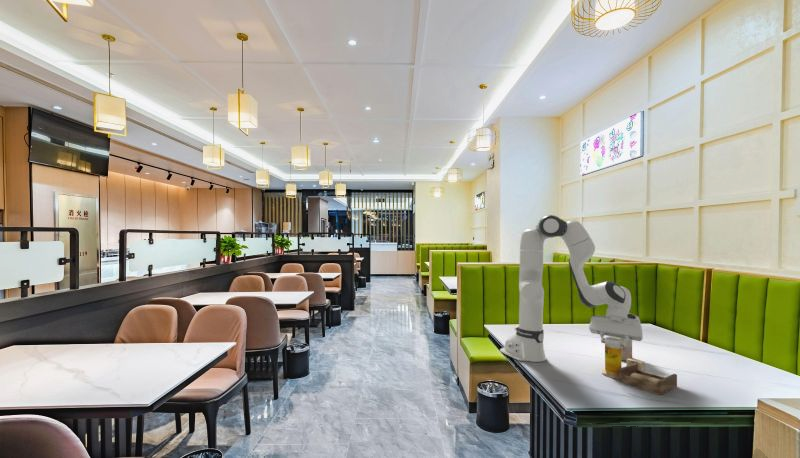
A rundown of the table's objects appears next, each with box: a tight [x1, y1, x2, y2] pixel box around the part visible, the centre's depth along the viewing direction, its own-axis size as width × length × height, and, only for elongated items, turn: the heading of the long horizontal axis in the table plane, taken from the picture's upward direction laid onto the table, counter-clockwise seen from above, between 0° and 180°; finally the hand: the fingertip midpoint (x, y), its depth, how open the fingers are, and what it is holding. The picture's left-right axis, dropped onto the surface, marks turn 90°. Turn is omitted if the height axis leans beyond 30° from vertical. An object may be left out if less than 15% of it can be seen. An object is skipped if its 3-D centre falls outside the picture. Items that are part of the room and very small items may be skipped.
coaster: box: [601, 369, 619, 380], centre depth 149 cm, size 8×8×1 cm
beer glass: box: [604, 336, 622, 376], centre depth 149 cm, size 6×6×15 cm
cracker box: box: [608, 336, 633, 362], centre depth 174 cm, size 14×6×21 cm, turn 168°
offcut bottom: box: [631, 373, 660, 385], centre depth 137 cm, size 9×4×4 cm, turn 40°
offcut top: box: [625, 358, 645, 371], centre depth 158 cm, size 6×4×3 cm
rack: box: [618, 363, 678, 396], centre depth 140 cm, size 15×14×5 cm
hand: (612, 344), depth 149 cm, fingers closed on beer glass, 6 cm apart
